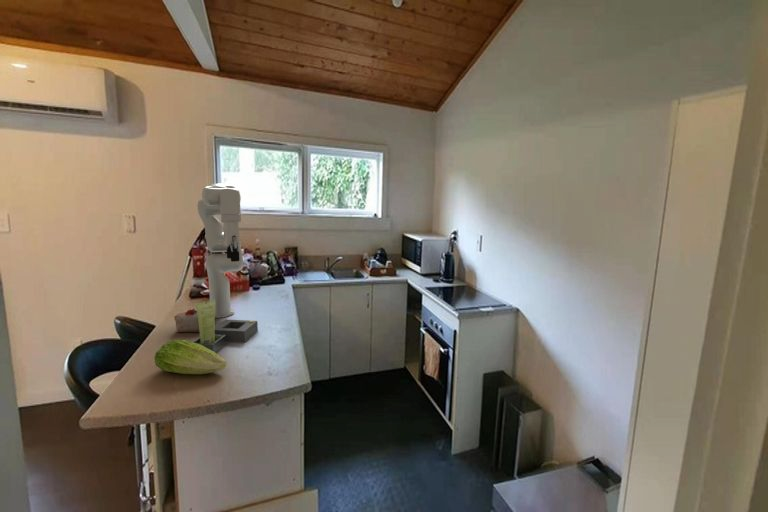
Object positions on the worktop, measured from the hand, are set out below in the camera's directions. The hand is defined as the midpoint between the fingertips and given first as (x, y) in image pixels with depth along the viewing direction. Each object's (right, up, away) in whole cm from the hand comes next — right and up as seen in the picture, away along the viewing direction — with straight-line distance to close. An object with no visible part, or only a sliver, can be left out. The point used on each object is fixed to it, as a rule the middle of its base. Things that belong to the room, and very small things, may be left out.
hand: (233, 259), depth 149 cm
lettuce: (-3, -39, -25) cm, 46 cm away
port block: (-2, -34, +7) cm, 35 cm away
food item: (-24, -33, +13) cm, 43 cm away
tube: (-7, -36, -6) cm, 37 cm away
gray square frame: (-7, -36, -6) cm, 37 cm away
